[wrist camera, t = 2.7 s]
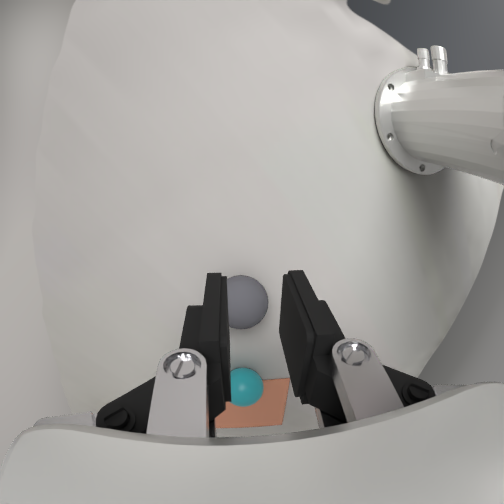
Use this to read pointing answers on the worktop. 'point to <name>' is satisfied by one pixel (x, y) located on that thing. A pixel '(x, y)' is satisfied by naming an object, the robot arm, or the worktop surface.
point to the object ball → (245, 387)
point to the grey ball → (245, 302)
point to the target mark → (258, 408)
